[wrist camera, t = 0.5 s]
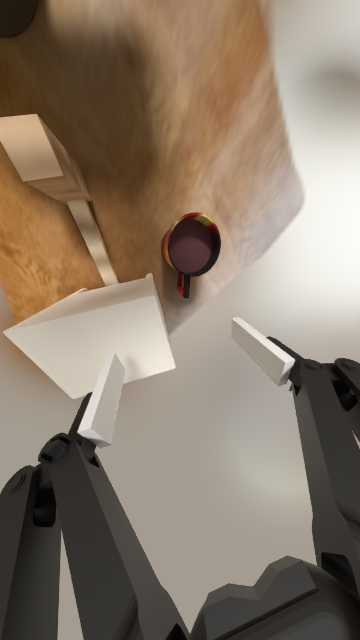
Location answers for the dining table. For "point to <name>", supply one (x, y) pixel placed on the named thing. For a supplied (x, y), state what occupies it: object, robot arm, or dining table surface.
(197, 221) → the mug
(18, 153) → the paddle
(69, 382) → the cabinet
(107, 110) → the dining table surface
